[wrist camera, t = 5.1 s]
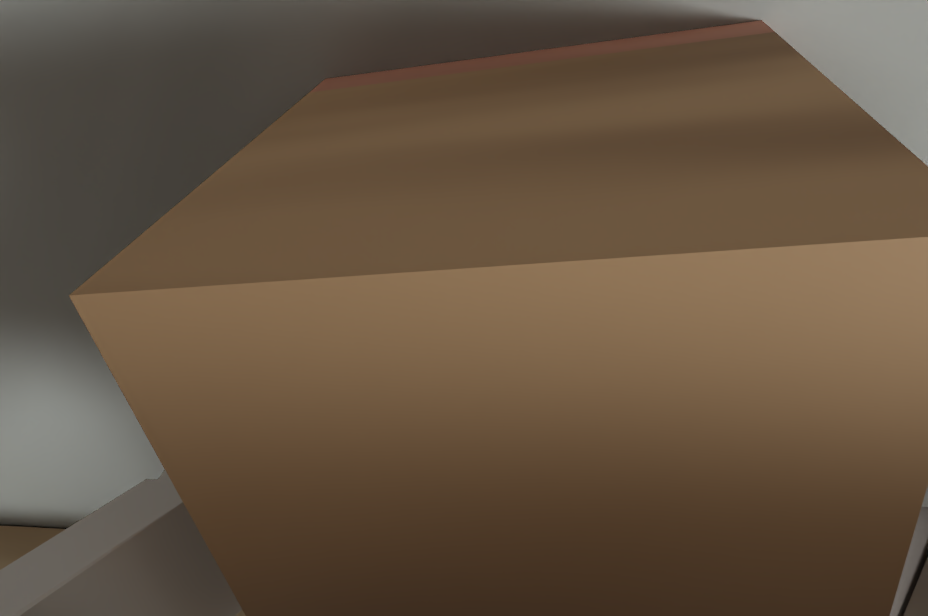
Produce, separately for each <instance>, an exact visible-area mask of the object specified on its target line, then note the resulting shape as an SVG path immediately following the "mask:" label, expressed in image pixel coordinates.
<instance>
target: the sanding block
mask: <svg viewBox="0 0 928 616" xmlns="http://www.w3.org/2000/svg"><path fill="white" fill-rule="evenodd" d="M69 297H70V299H71V300H72V302H73V304H74V306H75V308H76V309H77V311H78V313H79V315H80V317H81V318H82V320H83V322H84V324H85V326H86V328H87V329H88V331H89V333H90V335H91V337H92V338H93V340H94V342H95V344H96V346H97V347H98V349H99V351H100V353H101V355H102V356H103V358H104V360H105V362H106V364H107V366H108V367H109V369H110V371H111V373H112V375H113V376H114V378H115V380H116V382H117V384H118V385H119V387H120V389H121V391H122V393H123V394H124V396H125V398H126V400H127V402H128V404H129V405H130V407H131V409H132V411H133V413H134V414H135V416H136V418H137V420H138V422H139V423H140V425H141V427H142V429H143V431H144V432H145V434H146V436H147V438H148V440H149V442H150V443H151V445H152V447H153V449H154V451H155V452H156V454H157V456H158V458H159V460H160V461H161V463H162V465H163V467H164V469H165V470H166V472H167V474H168V476H169V478H170V480H171V481H172V483H173V485H174V487H175V489H176V490H177V492H178V494H179V496H180V498H181V499H182V501H183V503H184V505H185V507H186V508H187V510H188V512H189V514H190V516H191V518H192V519H193V521H194V523H195V525H196V527H197V528H198V530H199V532H200V534H201V536H202V537H203V539H204V541H205V543H206V545H207V546H208V548H209V550H210V552H211V554H212V556H213V557H214V559H215V561H216V563H217V565H218V566H219V568H220V570H221V572H222V574H223V575H224V577H225V579H226V581H227V583H228V584H229V586H230V588H231V590H232V592H233V594H234V595H235V597H236V599H237V601H238V603H239V604H240V606H241V608H242V610H243V612H244V613H245V615H246V616H890V612H891V609H892V605H893V602H894V599H895V595H896V592H897V588H898V585H899V582H900V578H901V575H902V571H903V568H904V565H905V561H906V558H907V554H908V551H909V547H910V544H911V541H912V537H913V534H914V530H915V527H916V524H917V520H918V517H919V513H920V510H921V506H922V503H923V500H924V496H925V493H926V489H927V486H928V166H927V165H926V164H924V163H923V162H922V161H921V160H920V159H919V158H918V157H916V156H915V155H914V154H913V153H912V152H911V151H910V150H908V149H907V148H906V147H905V146H904V145H903V144H902V143H901V142H899V141H898V140H897V139H896V138H895V137H894V136H893V135H891V134H890V133H889V132H888V131H887V130H886V129H885V128H883V127H882V126H881V125H880V124H879V123H878V122H877V121H876V120H874V119H873V118H872V117H871V116H870V115H869V114H868V113H866V112H865V111H864V110H863V109H862V108H861V107H860V106H858V105H857V104H856V103H855V102H854V101H853V100H852V99H850V98H849V97H848V96H847V95H846V94H845V93H844V92H843V91H841V90H840V89H839V88H838V87H837V86H836V85H835V84H833V83H832V82H831V81H830V80H829V79H828V78H827V77H825V76H824V75H823V74H822V73H821V72H820V71H819V70H818V69H816V68H815V67H814V66H813V65H812V64H811V63H810V62H808V61H807V60H806V59H805V58H804V57H803V56H802V55H800V54H799V53H798V52H797V51H796V50H795V49H794V48H793V47H791V46H790V45H789V44H788V43H787V42H786V41H785V40H783V39H782V38H781V37H780V36H779V35H778V34H777V33H775V32H774V31H773V30H772V29H771V28H770V27H769V26H767V25H766V24H765V23H764V22H763V21H762V20H760V21H752V22H745V23H737V24H730V25H722V26H715V27H708V28H700V29H693V30H685V31H678V32H670V33H663V34H655V35H648V36H640V37H633V38H626V39H618V40H611V41H603V42H596V43H588V44H581V45H573V46H566V47H558V48H551V49H544V50H536V51H529V52H521V53H514V54H506V55H499V56H491V57H484V58H476V59H469V60H461V61H454V62H447V63H439V64H432V65H424V66H417V67H409V68H402V69H394V70H387V71H379V72H372V73H365V74H357V75H350V76H342V77H335V78H327V79H325V80H323V81H322V82H321V83H320V84H319V85H317V86H316V87H315V88H314V89H313V90H312V91H310V92H309V93H308V94H307V95H306V96H304V97H303V98H302V99H301V100H300V101H298V102H297V103H296V104H295V105H294V106H293V107H291V108H290V109H289V110H288V111H287V112H285V113H284V114H283V115H282V116H281V117H280V118H278V119H277V120H276V121H275V122H274V123H272V124H271V125H270V126H269V127H268V128H267V129H265V130H264V131H263V132H262V133H261V134H259V135H258V136H257V137H256V138H255V139H253V140H252V141H251V142H250V143H249V144H248V145H246V146H245V147H244V148H243V149H242V150H240V151H239V152H238V153H237V154H236V155H235V156H233V157H232V158H231V159H230V160H229V161H227V162H226V163H225V164H224V165H223V166H222V167H220V168H219V169H218V170H217V171H216V172H214V173H213V174H212V175H211V176H210V177H209V178H207V179H206V180H205V181H204V182H203V183H201V184H200V185H199V186H198V187H197V188H195V189H194V190H193V191H192V192H191V193H190V194H188V195H187V196H186V197H185V198H184V199H182V200H181V201H180V202H179V203H178V204H177V205H175V206H174V207H173V208H172V209H171V210H169V211H168V212H167V213H166V214H165V215H164V216H162V217H161V218H160V219H159V220H158V221H156V222H155V223H154V224H153V225H152V226H151V227H149V228H148V229H147V230H146V231H145V232H143V233H142V234H141V235H140V236H139V237H137V238H136V239H135V240H134V241H133V242H132V243H130V244H129V245H128V246H127V247H126V248H124V249H123V250H122V251H121V252H120V253H119V254H117V255H116V256H115V257H114V258H113V259H111V260H110V261H109V262H108V263H107V264H106V265H104V266H103V267H102V268H101V269H100V270H98V271H97V272H96V273H95V274H94V275H93V276H91V277H90V278H89V279H88V280H87V281H85V282H84V283H83V284H82V285H81V286H79V287H78V288H77V289H76V290H75V291H74V292H72V293H71V294H70V295H69Z"/></svg>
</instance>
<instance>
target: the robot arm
mask: <svg viewBox="0 0 928 616" xmlns="http://www.w3.org/2000/svg"><path fill="white" fill-rule="evenodd" d="M241 610H242V608H241V606H240V604H239V603H238V601H237V599H236V597H235V595H234V594H233V592H232V590H231V588H230V586H229V584H228V583H227V581H226V579H225V577H224V575H223V574H222V572H221V570H220V568H219V566H218V565H217V563H216V561H215V559H214V557H213V556H212V554H211V552H210V550H209V548H208V546H207V545H206V543H205V541H204V539H203V537H202V536H201V534H200V532H199V530H198V528H197V527H196V525H195V523H194V521H193V519H192V518H191V516H190V514H189V512H188V510H187V508H186V507H185V505H184V503H183V501H182V499H181V498H180V496H179V494H178V492H177V490H176V489H175V487H174V485H173V483H172V481H171V480H170V478H169V476H168V474H167V472H166V470H164V472H163V473H162V474H161V476H160V477H159V479H146V480H144V481H143V482H141V483H139V484H138V485H136V486H135V487H133V488H131V489H130V490H128V491H127V492H125V493H123V494H122V495H120V496H118V497H117V498H115V499H114V500H112V501H110V502H109V503H107V504H106V505H104V506H102V507H101V508H99V509H98V510H96V511H94V512H93V513H91V514H89V515H88V516H86V517H85V518H83V519H81V520H80V521H78V522H77V523H75V524H73V525H72V526H70V527H69V528H67V529H65V530H64V531H62V532H61V533H59V534H57V535H56V536H54V537H52V538H51V539H49V540H48V541H46V542H44V543H43V544H41V545H40V546H38V547H36V548H35V549H33V550H32V551H30V552H28V553H27V554H25V555H24V556H22V557H20V558H19V559H17V560H15V561H14V562H12V563H11V564H9V565H7V566H6V567H4V568H3V569H1V570H0V616H236V615H237V614H238V613H239V612H240V611H241ZM890 616H928V486H927V489H926V493H925V496H924V500H923V503H922V506H921V510H920V513H919V517H918V520H917V524H916V527H915V530H914V534H913V537H912V541H911V544H910V547H909V551H908V554H907V558H906V561H905V565H904V568H903V571H902V575H901V578H900V582H899V585H898V588H897V592H896V595H895V599H894V602H893V605H892V609H891V612H890Z"/></svg>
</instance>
